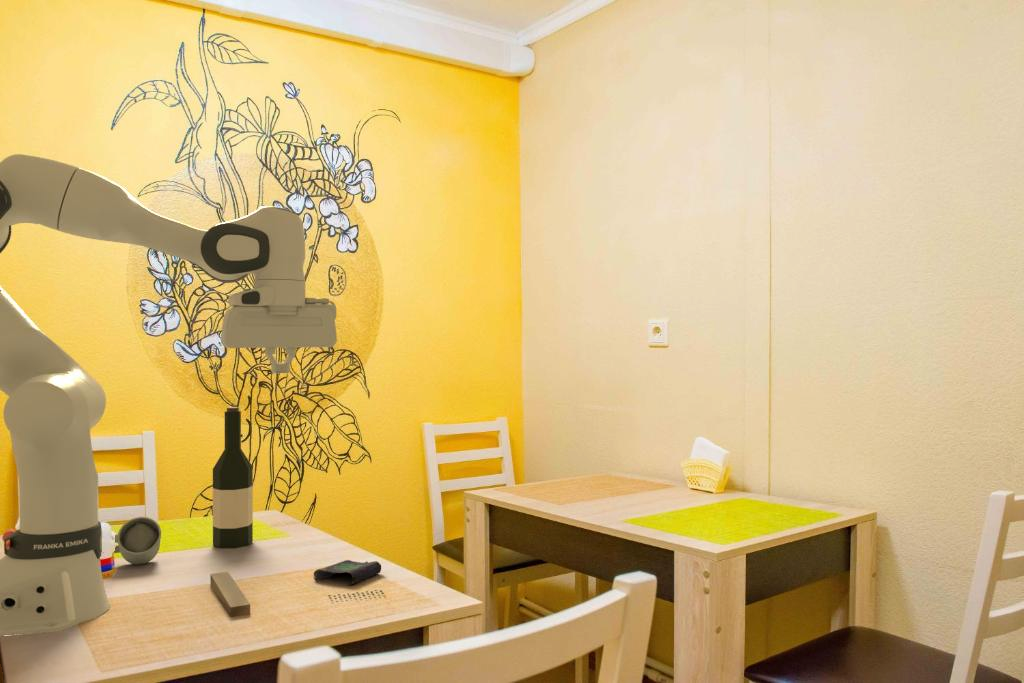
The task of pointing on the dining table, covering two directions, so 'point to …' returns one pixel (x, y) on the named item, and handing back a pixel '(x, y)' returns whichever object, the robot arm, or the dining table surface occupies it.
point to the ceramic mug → (138, 540)
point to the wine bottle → (232, 489)
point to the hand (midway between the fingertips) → (280, 373)
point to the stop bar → (229, 594)
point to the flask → (350, 570)
